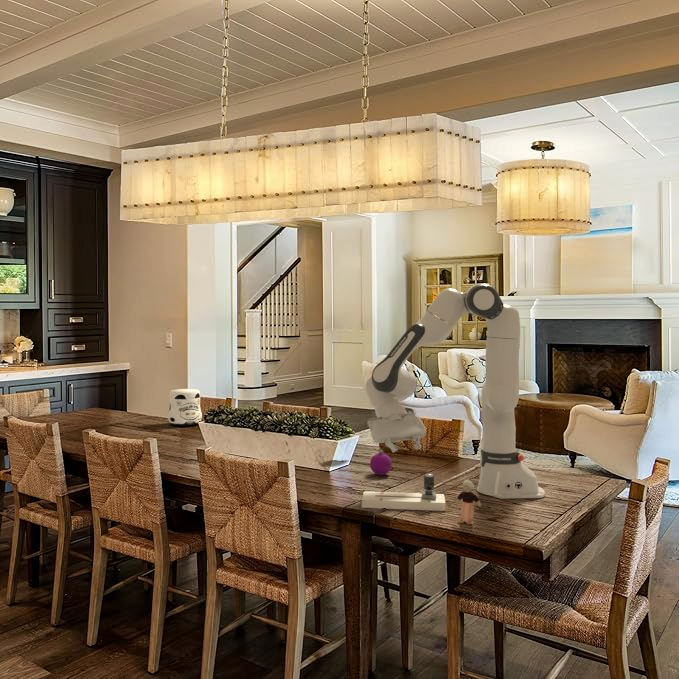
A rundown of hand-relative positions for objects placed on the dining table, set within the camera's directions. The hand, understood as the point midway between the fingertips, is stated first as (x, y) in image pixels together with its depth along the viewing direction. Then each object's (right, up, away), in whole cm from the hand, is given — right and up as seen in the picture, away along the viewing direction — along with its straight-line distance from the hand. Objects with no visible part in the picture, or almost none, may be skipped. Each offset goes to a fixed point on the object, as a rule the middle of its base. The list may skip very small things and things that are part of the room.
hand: (407, 449), depth 230 cm
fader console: (-2, -16, -9) cm, 19 cm away
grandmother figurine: (+15, -17, -27) cm, 35 cm away
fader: (+6, -13, -10) cm, 18 cm away
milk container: (-104, -8, +134) cm, 169 cm away
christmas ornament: (-7, -14, +30) cm, 34 cm away
